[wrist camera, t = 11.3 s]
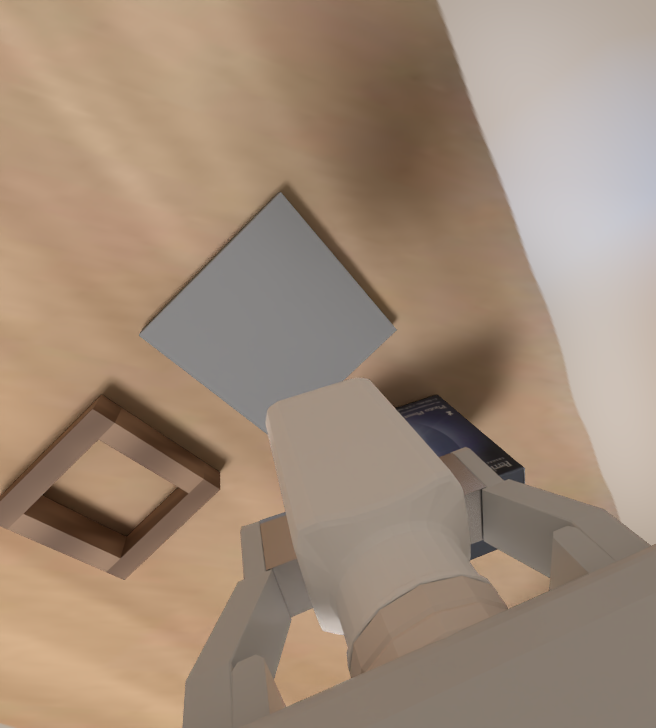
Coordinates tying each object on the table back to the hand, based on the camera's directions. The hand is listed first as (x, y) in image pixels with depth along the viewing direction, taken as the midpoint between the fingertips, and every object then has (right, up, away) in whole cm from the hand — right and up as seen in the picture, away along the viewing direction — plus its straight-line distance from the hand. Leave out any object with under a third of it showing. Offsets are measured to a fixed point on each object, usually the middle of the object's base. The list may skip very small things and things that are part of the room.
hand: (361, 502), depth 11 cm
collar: (-16, -5, +17) cm, 23 cm away
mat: (-4, +6, +15) cm, 17 cm away
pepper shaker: (-1, +2, +4) cm, 4 cm away
